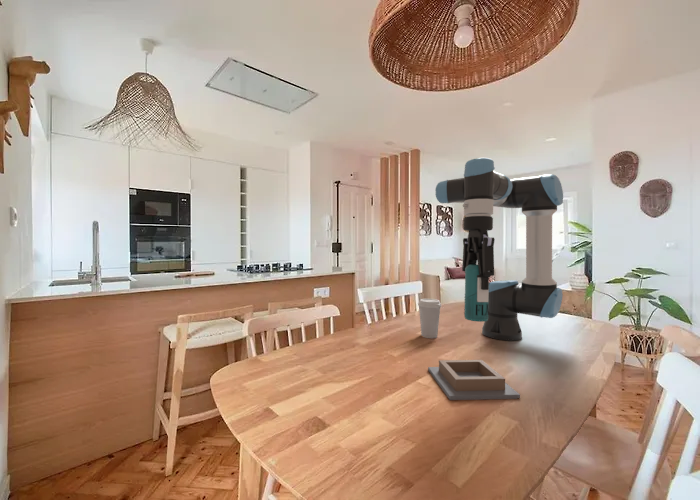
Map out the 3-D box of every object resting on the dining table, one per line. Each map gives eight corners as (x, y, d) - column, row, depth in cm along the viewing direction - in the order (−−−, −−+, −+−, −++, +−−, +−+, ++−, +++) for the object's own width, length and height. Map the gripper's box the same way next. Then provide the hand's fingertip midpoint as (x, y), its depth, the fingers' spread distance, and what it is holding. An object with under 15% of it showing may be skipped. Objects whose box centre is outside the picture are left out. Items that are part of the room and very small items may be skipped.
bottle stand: (485, 369, 97) (485, 356, 96) (520, 398, 79) (520, 382, 78) (428, 370, 96) (428, 357, 96) (449, 400, 78) (450, 384, 78)
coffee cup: (416, 338, 127) (417, 301, 127) (418, 331, 137) (418, 297, 136) (441, 340, 125) (441, 303, 124) (441, 333, 134) (441, 299, 133)
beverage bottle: (473, 328, 83) (475, 252, 82) (458, 321, 89) (459, 251, 89) (494, 326, 85) (495, 252, 84) (477, 320, 91) (479, 252, 91)
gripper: (451, 218, 96) (449, 293, 96) (481, 212, 76) (479, 306, 77) (475, 219, 96) (473, 293, 97) (511, 213, 77) (509, 306, 77)
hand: (476, 299), depth 87 cm, fingers closed on beverage bottle, 6 cm apart
